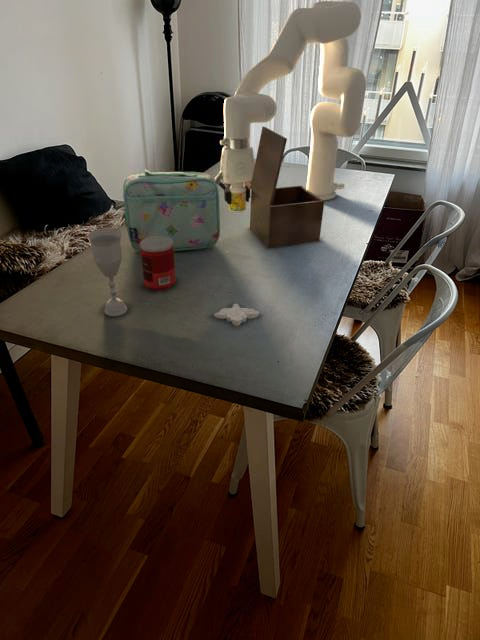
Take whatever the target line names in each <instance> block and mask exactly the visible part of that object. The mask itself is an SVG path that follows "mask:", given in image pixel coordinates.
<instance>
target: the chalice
mask: <svg viewBox="0 0 480 640" xmlns="http://www.w3.org/2000/svg"><path fill="white" fill-rule="evenodd" d="M122 235H123V234H122V232H121V231H120V230H119V229H116V228H99V229H95V230H93V231H91V232H89V233H88V235H87V239H88V241H89V242H90V246H91V253H92V259H93V261H94V263H95V265H96V266H97V268H98V270H99V271H100V272H101V273H102V275H103V276H104V277H106V278H108V283H107V285H108V286H109V290H108V293H109V294H110V295H111V298H109V299H107V301H106V303H105V307H104V310H103V311H104V312H103V313H104V314H105V315H107V316H110V317H118V316H121V315H124V314H126V312H127V311H128V307H127V305H126V304H125V303H124V301H123V299H121V298H119V297H117V292H118V290H117V289H116V288H115V286H116V282H115V279H114V277H116V276H117V274H118V272H119V270H120V266H121V264H122V258H123V252H122V245H121V238H122Z"/></svg>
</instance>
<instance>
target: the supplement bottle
mask: <svg viewBox="0 0 480 640" xmlns="http://www.w3.org/2000/svg"><path fill="white" fill-rule="evenodd" d="M229 190H230V192H231V204H228V210H229V211H230V212H231V213H234V214H240V213H244V212H245V211H246V210H247V209H246V208H247V202H246V189H245V183H244V182H242V183H233V184H231V186H230V189H229Z"/></svg>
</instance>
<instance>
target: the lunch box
mask: <svg viewBox="0 0 480 640" xmlns="http://www.w3.org/2000/svg"><path fill="white" fill-rule="evenodd" d="M122 185H123V186H122V187H123V188H122V191H123V192H122V197H123V209H122V211H123V212H124V213H122V216H121V220H120V222H123V220H124V223H125V228H126V231H127V235H128V240H129V243H130V244H131V247H132V248H133V249H134V250H135V251H137V252H139V253H141V252H140V242H141V241H142V240H143V239H145V238H148V237H152V236H165V237H169V238H171V239H172V240H173V245H174V252H180V251H181V252H182V251H192V250H193V251H194V250H201V249H202V250H203V249H206V248H210V247H212V246H214V245H215V244H217V243H218V242H219V239H220V234H221V210H220V192H219V191H220V190H219V185H218V184H216V183H215V182H214V178H213V177H212V176H211V175H210V174H208V173H205V172H200V171H199V172H197V171H160V172H159V171H155V172H153V171H152V172H150V171H149V170H148V169H144V171H143V172H140V173H137V174H133V175H130V176H128V177H126V178H125V180H124V182H123V184H122Z"/></svg>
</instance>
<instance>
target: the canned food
mask: <svg viewBox="0 0 480 640" xmlns="http://www.w3.org/2000/svg"><path fill="white" fill-rule="evenodd" d="M139 253H140V261H141V270H142V278H143V279H142V280H143V284H144V286H145V287H146V288H147V289H149V290H151V291H165V290H168V289H171V288H172V287H173V286H174V285H175V283H176V280H177V279H176V265H175V264H176V261H175V251H174V245H173V240H172V239H171V238H169V237H165V236H152V237H148V238H145V239H143V240H142V241H141V242H140V252H139Z"/></svg>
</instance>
